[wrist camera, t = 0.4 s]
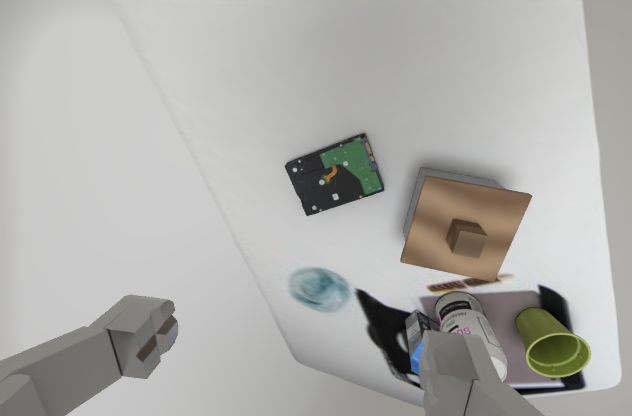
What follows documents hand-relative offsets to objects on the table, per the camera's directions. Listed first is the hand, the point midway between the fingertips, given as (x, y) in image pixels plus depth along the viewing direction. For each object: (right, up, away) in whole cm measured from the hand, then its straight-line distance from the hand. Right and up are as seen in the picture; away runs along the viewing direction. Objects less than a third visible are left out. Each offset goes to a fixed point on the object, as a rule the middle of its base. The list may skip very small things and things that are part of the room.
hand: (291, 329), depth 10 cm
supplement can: (+28, -16, +51) cm, 60 cm away
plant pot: (+42, -17, +49) cm, 67 cm away
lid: (+22, +1, +36) cm, 42 cm away
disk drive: (+4, +10, +46) cm, 47 cm away
